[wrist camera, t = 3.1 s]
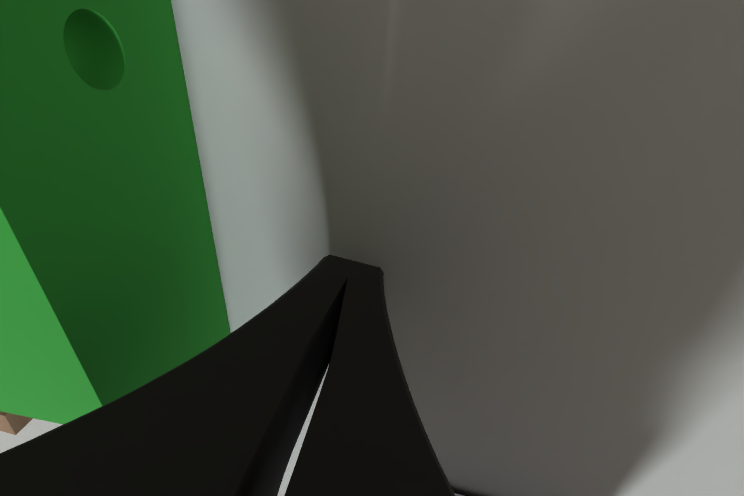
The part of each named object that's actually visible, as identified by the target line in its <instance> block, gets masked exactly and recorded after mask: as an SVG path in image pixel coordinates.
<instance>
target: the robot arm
mask: <svg viewBox="0 0 744 496" xmlns="http://www.w3.org/2000/svg"><path fill="white" fill-rule="evenodd" d="M383 274H384V273H383V271H382V270H381V268H379V267H375V266H371V265H368V264H364V263H360V262H356V261H352V260H348V259H344V258H341V257H337V256H333V255H328V256H326V257H324V258H323V259H322V260H321V261H320V262H319V263H318V264H317V265H316V266H315V267H314V268H313V269H312V270H311V271H310V272H309V273H308V274H307V275H306V276H304V277H303V278H302V279H301V280H300V281H299V282H298V283H297V284H295V285H294V286H293V287H292V288H291V289H289V290H288V291H287V292H286V293H285V294H283V295H282V296H281V297H280V298H278V299H277V300H276V301H275V302H274V303H272V304H271V305H270V306H268V307H267V308H266V309H264V310H263V311H262V312H260V313H259V314H258V315H256V316H255V317H253V318H252V319H251V320H249V321H248V322H246V323H245V324H244V325H242V326H241V327H240V328H238V329H237V330H235V331H234V332H232V333H231V334H229V335H228V336H226V337H225V338H223V339H222V340H220V341H219V342H217V343H216V344H214V345H212V346H211V347H209V348H208V349H206V350H204V351H203V352H201V353H199V354H198V355H196V356H194V357H193V358H191V359H190V360H188V361H186V362H184V363H183V364H181V365H179V366H177V367H176V368H174V369H172V370H170V371H168V372H167V373H165V374H163V375H161V376H159V377H158V378H156V379H154V380H152V381H150V382H149V383H147V384H145V385H143V386H141V387H139V388H137V389H135V390H134V391H132V392H130V393H128V394H126V395H124V396H122V397H120V398H118V399H116V400H114V401H112V402H110V403H108V404H106V405H104V406H102V407H99V408H97V409H95V410H93V411H91V412H89V413H87V414H85V415H83V416H80V417H78V418H76V419H74V420H72V421H70V422H68V423H66V424H63V425H61V426H59V427H57V428H55V429H53V430H51V431H49V432H47V433H44V434H42V435H40V436H38V437H36V438H34V439H32V440H30V441H27V442H25V443H23V444H21V445H18V446H16V447H14V448H12V449H9V450H7V451H5V452H2V453H0V496H277V494H278V491H279V488H280V485H281V482H282V479H283V476H284V473H285V470H286V467H287V465H288V462H289V459H290V457H291V454H292V451H293V449H294V446H295V444H296V442H297V439H298V437H299V434H300V432H301V430H302V427H303V425H304V422H305V420H306V417H307V415H308V413H309V410H310V408H311V405H312V403H313V401H314V398H315V396H316V393H317V391H318V389H319V386H320V384H321V381H322V379H323V376H324V374H325V372H326V369H327V367H328V364H329V367H328V371H327V374H326V377H325V380H324V383H323V386H322V389H321V392H320V395H319V398H318V401H317V404H316V406H315V409H314V412H313V415H312V418H311V421H310V424H309V427H308V430H307V433H306V436H305V439H304V441H303V444H302V447H301V450H300V453H299V456H298V459H297V462H296V465H295V467H294V470H293V473H292V476H291V479H290V482H289V484H288V487H287V490H286V493H285V496H464V495H460V494H456V493H454V492H453V490H452V488H451V486H450V484H449V482H448V480H447V478H446V476H445V474H444V472H443V470H442V468H441V466H440V463H439V461H438V459H437V457H436V455H435V452H434V450H433V448H432V445H431V443H430V441H429V438H428V436H427V434H426V432H425V429H424V427H423V424H422V422H421V419H420V417H419V414H418V412H417V409H416V407H415V404H414V402H413V399H412V396H411V393H410V391H409V388H408V385H407V382H406V379H405V376H404V373H403V370H402V367H401V363H400V360H399V357H398V354H397V350H396V346H395V343H394V339H393V335H392V331H391V326H390V322H389V318H388V313H387V308H386V301H385V295H384V285H383Z"/></svg>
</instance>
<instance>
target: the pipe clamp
mask: <svg viewBox="0 0 744 496" xmlns="http://www.w3.org/2000/svg"><path fill="white" fill-rule="evenodd" d="M229 334H230V328H229V323H228V317H227V311H226V306H225V300H224V295H223V289H222V284H221V278H220V272H219V267H218V261H217V256H216V250H215V244H214V239H213V233H212V228H211V222H210V217H209V211H208V205H207V200H206V194H205V189H204V183H203V177H202V172H201V166H200V161H199V155H198V150H197V144H196V138H195V133H194V127H193V122H192V116H191V110H190V105H189V99H188V94H187V88H186V83H185V77H184V71H183V66H182V60H181V55H180V49H179V43H178V38H177V32H176V27H175V21H174V16H173V10H172V4H171V0H0V411H1V412H6V413H11V414H16V415H21V416H25V417H30V418H35V419H40V420H45V421H50V422H55V423H59V424H66V423H68V422H70V421H72V420H74V419H76V418H78V417H80V416H83V415H85V414H87V413H89V412H91V411H93V410H95V409H97V408H99V407H102V406H104V405H106V404H108V403H110V402H112V401H114V400H116V399H118V398H120V397H122V396H124V395H126V394H128V393H130V392H132V391H134V390H135V389H137V388H139V387H141V386H143V385H145V384H147V383H149V382H150V381H152V380H154V379H156V378H158V377H159V376H161V375H163V374H165V373H167V372H168V371H170V370H172V369H174V368H176V367H177V366H179V365H181V364H183V363H184V362H186V361H188V360H190V359H191V358H193V357H194V356H196V355H198V354H199V353H201V352H203V351H204V350H206V349H208V348H209V347H211V346H212V345H214V344H216V343H217V342H219V341H220V340H222V339H223V338H225V337H226V336H228V335H229Z"/></svg>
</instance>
